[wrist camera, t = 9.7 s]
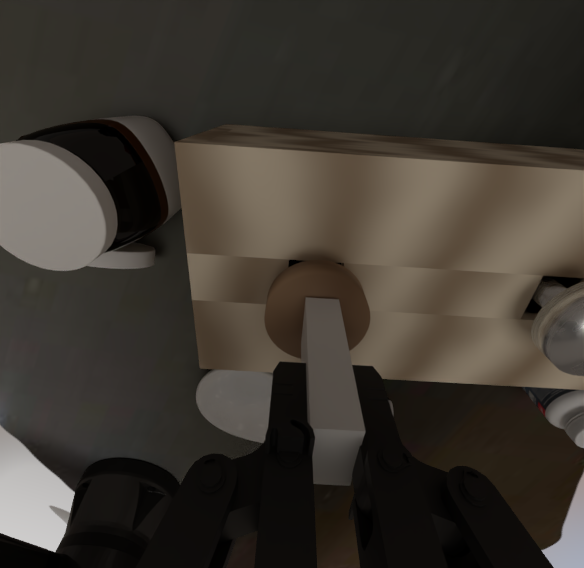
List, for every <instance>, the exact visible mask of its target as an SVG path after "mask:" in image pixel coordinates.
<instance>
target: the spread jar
mask: <svg viewBox="0 0 584 568" xmlns="http://www.w3.org/2000/svg"><path fill="white" fill-rule="evenodd" d="M181 208H182V206H181V197H180V188H179V180H178V171H177V162H176V153H175V144H174V142H173V141H172V139H171V137H170V136H169V134H168V133H167V132H166V130H165V129H164V128H163V127H162V126H161V125H160V124H159V123H158V122H157V121H155V120H154V119H152V118H149V117H146V116H122V117H112V118H101V119H93V120H86V121H80V122H73V123H67V124H62V125H58V126H54V127H50V128H45V129H42V130H39V131H36V132H33V133H31V134H28V135H24V136H21V137H20V138H19V139H18V140H16V141H13V142H7V143H1V144H0V245H1V246H2V247H3V248H4V249H5V250H7V251H8V252H10V253H11V254H13V255H14V256H16V257H17V258H19V259H21V260H23V261H25V262H27V263H29V264H32V265H35V266H38V267H40V268H44V269H49V270H54V271H70V270H76V269H79V268H82V267H85V266H91V267H100V268H114V269H137V268H146V267H150V266H153V265H154V261H155V248H153V247H151V246H148V245H145V244H141V243H136V242H134V241H137V240H138V239H140V238H142V237H144V236H146V235H147V234H149V233H151V232H153V231H154V230H156V229H157V228H159V227H160V226H161V225H163V224H164V223H165V222H167V221H168V220H169V219H170V218H171V217H172V216H173V215H174V214H175V213H177V212H178V211H179V210H180V209H181Z"/></svg>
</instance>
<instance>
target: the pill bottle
mask: <svg viewBox="0 0 584 568" xmlns="http://www.w3.org/2000/svg"><path fill="white" fill-rule="evenodd" d="M522 388H523V389H524V390H525V392H526V393H527V394H528V395H529V397H530V398H531V399H532V401H533V402H534V403H535V404H536V406H537V407H538V408H539V409H540V411H541V412H542V413H543V415H544V416H545V417H546V418H547V420H548V421H549V422H550V423H551V424H553V425H554V426H556V427H559V428H562V429H565V431H566V433H567V434H568V436H569V437H570V438H571V439H572V440H573V441H574V443H575V444H576V445H578V446H579V447H582V448H584V390H575V389H557V388H539V387H522Z"/></svg>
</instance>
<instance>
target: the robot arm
mask: <svg viewBox="0 0 584 568" xmlns="http://www.w3.org/2000/svg"><path fill="white" fill-rule="evenodd" d="M352 477H353V484H354V491H355V494H354V497H353V500H352V503H351V507H350V510H349V520H352V519H353V516H354V522H355V529H356V537H357V545H358V553H359V560H360V568H553V566H552V565H551V563H550V562H549V561H548V559H547V558H546V557H545V555H544V554H543V552H542V551H541V550H540V548H539V547H538V545H537V544H536V543H535V541H534V540H533V539H532V537H531V536H530V534H529V533H528V532H527V530H526V529H525V528H524V526H523V525H522V523H521V522H520V521H519V519H518V518H517V516H516V515H515V514H514V512H513V511H512V510H511V508H510V507H509V505H508V504H507V503H506V501H505V500H504V498H503V497H502V496H501V494H500V493H499V492H498V490H497V489H496V487H495V486H494V485H493V484H492V483H491V482H490V481H489V480H488V478H487V477H486V476H484V475H483V474H481V473H480V472H478V471H477V470H475V469H472V468H469V467H467V466H456V467H454V468H452V469H450V471H449V473H448V472H445V471H442V470H440V469H437V468H434V467H432V466H429V465H426V464H424V463H422V462H420V461H418V460H417V459H416V458H414V457H413V456H412V455H411V453H410V452H409V451H408V450H407V449H406V448H405V447H404V446H403V444H402V442H401V440H400V438H399V434H398V431H397V427H396V424H395V421H394V417H393V414H392V411H391V407H390V404H389V401H388V397H387V394H386V391H385V387H384V384H383V380H382V377H381V376H380V374H379V373H378V372H377V371H376V369H375V368H374V367H373V366H363V365H352V362H351V357H350V352H349V347H348V342H347V337H346V332H345V327H344V322H343V317H342V312H341V307H340V302H339V299H324V298H308V297H306V299H305V309H304V319H303V329H302V339H301V363H298V362H281V361H280V362H279V363H278V365H277V366H276V368H275V369H274V371H273V379H272V390H271V401H270V411H269V422H268V429H267V432H266V435H265V441H264V443H263V444H262V445H261V446H260V448H259V449H257V450H256V451H254V452H253V453H251V454H249V455H246V456H243V457H239V458H236V459H232V460H231V459H230V458H228V457H226V456H225V455H223V454H210V455H206V456H203V457H202V458H200V459H199V460H197V461H196V462H195V463H194V464H193V465H192V467H191V468H190V469H189V470H188V472H187V474H186V476H185V478H184V480H183V481H182V483H181V485H180V486H179V484H178V482H177V481H176V480H175V479H174V478H173V477H172V476H171V475H170V474H169V473H167V472H166V471H164V470H162V469H160V468H158V467H156V466H154V465H151V464H148V463H145V462H141V461H137V460H131V459H108V460H103V461H99V462H96V463H94V464H92V465H91V466H89V467H88V468H87V469H86V471H85V472H84V474H83V476H82V478H81V480H80V481H79V483H78V485H77V487H76V491H75V495H74V499H73V503H72V508H71V512H70V516H69V520H68V524H67V528H66V533H65V535H64V537H63V539H62V541H61V543H60V545H59V547H58V548H57V550H56V552H52V551H49V550H47V549H44V548H41V547H38V546H36V545H33V544H30V543H27V542H24V541H21V540H18V539H15V538H12V537H9V536H7V535H4V534H1V533H0V568H226V567H227V564H228V561H229V558H230V555H231V552H232V550H233V547H234V544H235V541H236V538H238V537H241V536H243V535H246V534H249V533H252V532H254V531H257V530H258V535H257V545H256V556H255V567H254V568H317V555H316V531H315V507H314V484H327V485H346V486H350V484H351V480H352Z"/></svg>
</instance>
